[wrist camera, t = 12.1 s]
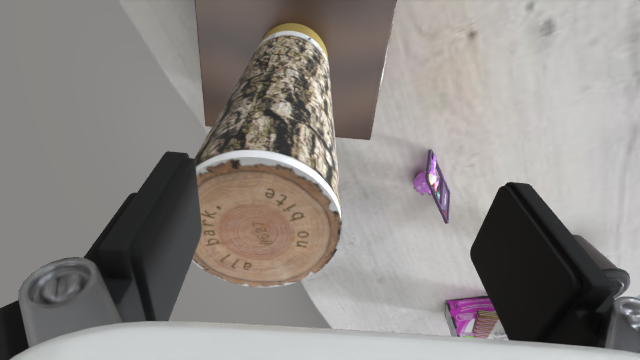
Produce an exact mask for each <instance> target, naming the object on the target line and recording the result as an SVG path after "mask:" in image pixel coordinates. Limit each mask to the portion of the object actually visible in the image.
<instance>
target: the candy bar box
mask: <svg viewBox="0 0 640 360" xmlns="http://www.w3.org/2000/svg"><path fill="white" fill-rule="evenodd" d="M445 317H446V320H447V323H448V326H449V329H450V332H451V335H452V336H454V337H469V338H483V339H498V340H509V339H508V337H507V335H506V333H505V331H504V329H503V326H502V324H501V322H500V320H499V318H498V316H497V314H496V311H495V309H494V307H493V305H492V303H491V301H490V299H489V297H479V298H470V299H460V300H450V301H446V309H445Z"/></svg>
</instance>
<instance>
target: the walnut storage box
mask: <svg viewBox="0 0 640 360" xmlns="http://www.w3.org/2000/svg"><path fill="white" fill-rule="evenodd" d="M396 2H397V0H195V7H196V19H197V31H198V43H199V54H200V66H201V78H202V90H203V102H204V113H205V125H206V126H210V127H213V125H214V123H215V122H216V120H217V118H218V116H219V115H220V113H221V111H222V109H223V107H224V106H225V104H226V102H227V100H228V99H229V97H230V95H231V93H232V91H233V90H234V88H235V86H236V84H237V83H238V81H239V79H240V77H241V75H242V74H243V72H244V70H245V68H246V67H247V65H248V63H249V61H250V59H251V58H252V56H253V54H254V52H255V51H256V49H257V47H258V46H259V44H260V42H261V40H262V39H263V37H264V36H265V35H266V34H267V33H268V32H269V31H270V30H271V29H273V28H275V27H276V26H279V25H282V24H286V23H296V24H301V25H304V26H306V27H308V28H310V29H311V30H313V31H314V32H315V33H316V34H317V35H318V36H319V37H320V38H321V40H322V41H323V43H324V45H325V47H326V50H327V55H328V64H329V73H330V85H331V96H332V108H333V120H334V131H335V137H341V138H352V139H364V140H370V138H371V133H372V127H373V122H374V117H375V112H376V107H377V101H378V96H379V91H380V86H381V81H382V75H383V70H384V65H385V60H386V54H387V49H388V44H389V39H390V34H391V28H392V23H393V18H394V13H395V8H396Z"/></svg>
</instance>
